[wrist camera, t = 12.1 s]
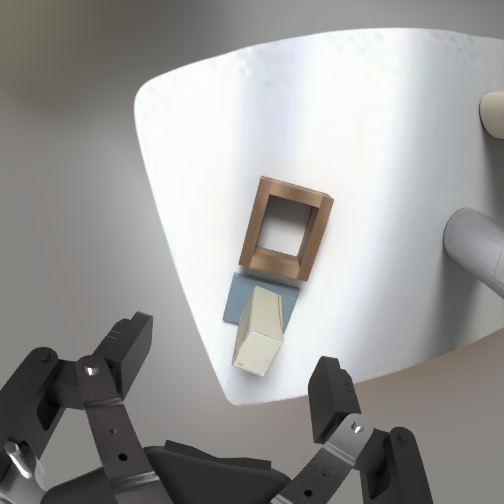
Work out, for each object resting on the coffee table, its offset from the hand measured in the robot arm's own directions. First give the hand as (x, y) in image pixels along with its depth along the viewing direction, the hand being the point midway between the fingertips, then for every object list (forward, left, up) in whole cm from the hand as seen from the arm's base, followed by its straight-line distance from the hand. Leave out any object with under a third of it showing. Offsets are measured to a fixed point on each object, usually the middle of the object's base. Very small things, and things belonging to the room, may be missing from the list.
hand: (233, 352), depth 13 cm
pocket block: (-4, +1, -30) cm, 30 cm away
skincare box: (-4, +14, -29) cm, 32 cm away
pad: (-4, +14, -30) cm, 33 cm away
